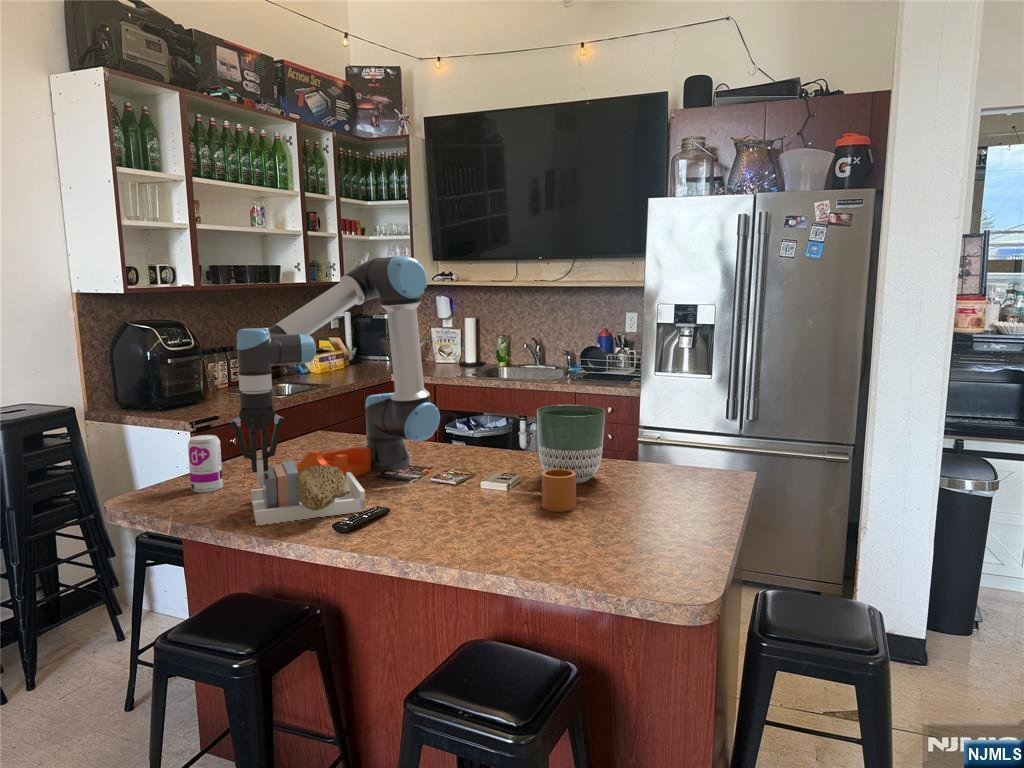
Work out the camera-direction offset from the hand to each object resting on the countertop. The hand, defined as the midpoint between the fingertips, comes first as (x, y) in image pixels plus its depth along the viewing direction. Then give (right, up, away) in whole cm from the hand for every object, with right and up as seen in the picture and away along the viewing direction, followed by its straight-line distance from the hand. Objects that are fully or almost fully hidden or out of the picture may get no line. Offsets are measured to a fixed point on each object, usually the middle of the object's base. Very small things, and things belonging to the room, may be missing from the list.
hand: (260, 484), depth 173 cm
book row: (+6, -7, +3) cm, 10 cm away
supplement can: (-23, -5, +21) cm, 32 cm away
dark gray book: (+2, -6, +2) cm, 6 cm away
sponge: (+18, -3, +8) cm, 20 cm away
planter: (+80, -4, +28) cm, 85 cm away
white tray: (+10, -7, +5) cm, 13 cm away
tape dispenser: (+9, -3, +37) cm, 38 cm away
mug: (+76, -7, +7) cm, 76 cm away
